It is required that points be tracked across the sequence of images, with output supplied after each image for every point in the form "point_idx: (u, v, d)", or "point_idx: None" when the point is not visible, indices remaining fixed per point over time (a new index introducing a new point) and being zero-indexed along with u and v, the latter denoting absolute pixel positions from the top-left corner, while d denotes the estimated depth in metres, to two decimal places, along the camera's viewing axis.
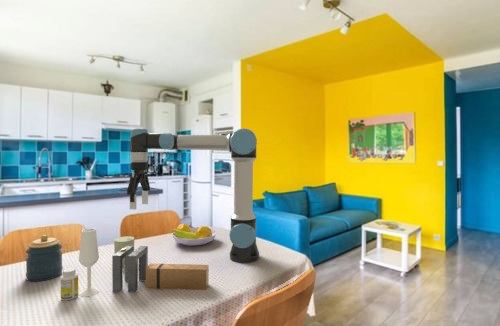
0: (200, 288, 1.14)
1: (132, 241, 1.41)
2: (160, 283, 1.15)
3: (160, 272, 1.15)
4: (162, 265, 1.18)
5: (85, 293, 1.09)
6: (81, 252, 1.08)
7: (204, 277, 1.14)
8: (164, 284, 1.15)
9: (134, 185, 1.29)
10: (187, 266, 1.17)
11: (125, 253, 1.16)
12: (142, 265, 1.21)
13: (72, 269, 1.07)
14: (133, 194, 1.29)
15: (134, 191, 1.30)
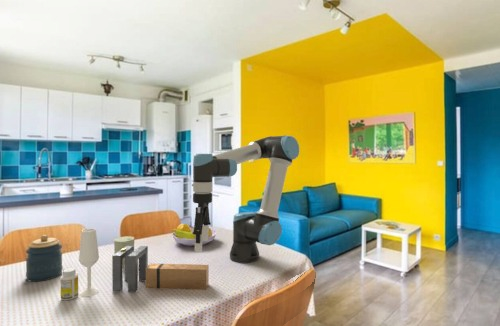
0: (200, 288, 1.14)
1: (132, 241, 1.41)
2: (160, 283, 1.15)
3: (160, 272, 1.15)
4: (162, 265, 1.18)
5: (85, 293, 1.09)
6: (81, 252, 1.08)
7: (204, 277, 1.14)
8: (164, 284, 1.15)
9: (201, 223, 1.08)
10: (187, 266, 1.17)
11: (125, 253, 1.16)
12: (142, 265, 1.21)
13: (72, 269, 1.07)
14: (200, 234, 1.08)
15: (200, 230, 1.08)
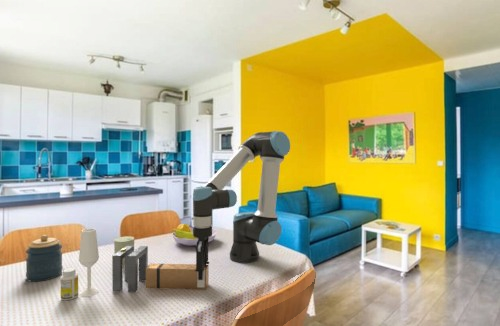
0: (200, 288, 1.14)
1: (132, 241, 1.41)
2: (160, 283, 1.15)
3: (160, 272, 1.15)
4: (162, 265, 1.18)
5: (85, 293, 1.09)
6: (81, 252, 1.08)
7: None
8: (164, 284, 1.15)
9: (202, 261, 1.11)
10: (187, 266, 1.17)
11: (125, 253, 1.16)
12: (142, 265, 1.21)
13: (72, 269, 1.07)
14: (202, 271, 1.12)
15: (203, 267, 1.12)
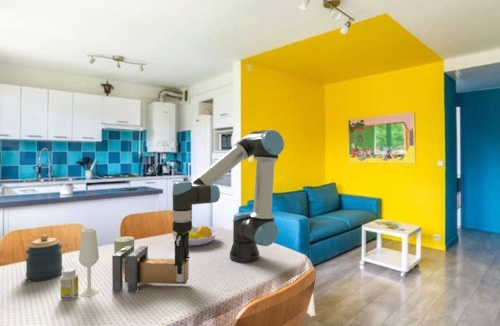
0: (179, 282, 1.14)
1: (132, 241, 1.41)
2: (139, 277, 1.15)
3: (139, 266, 1.15)
4: (142, 260, 1.18)
5: (85, 293, 1.09)
6: (81, 252, 1.08)
7: None
8: (143, 278, 1.15)
9: (181, 255, 1.11)
10: (167, 260, 1.17)
11: (125, 253, 1.16)
12: None
13: (72, 269, 1.07)
14: (181, 265, 1.13)
15: (182, 262, 1.12)
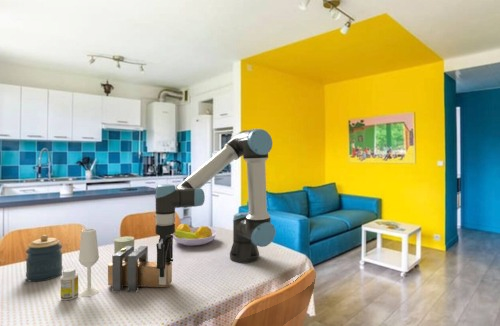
0: (162, 285, 1.15)
1: (132, 241, 1.41)
2: None
3: None
4: (125, 262, 1.18)
5: (85, 293, 1.09)
6: (81, 252, 1.08)
7: (166, 274, 1.15)
8: (126, 281, 1.15)
9: (163, 258, 1.11)
10: (150, 263, 1.17)
11: (125, 253, 1.16)
12: None
13: (72, 269, 1.07)
14: (163, 268, 1.13)
15: (164, 265, 1.13)
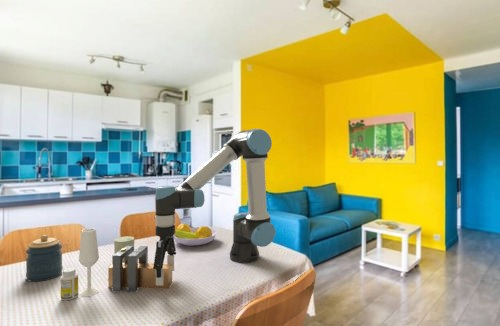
0: (162, 287, 1.15)
1: (132, 241, 1.41)
2: (123, 282, 1.15)
3: (123, 271, 1.15)
4: (126, 264, 1.18)
5: (85, 293, 1.09)
6: (81, 252, 1.08)
7: (166, 276, 1.15)
8: (126, 283, 1.15)
9: (161, 257, 1.09)
10: (150, 265, 1.18)
11: (125, 253, 1.16)
12: None
13: (72, 269, 1.07)
14: (160, 268, 1.09)
15: (161, 264, 1.09)
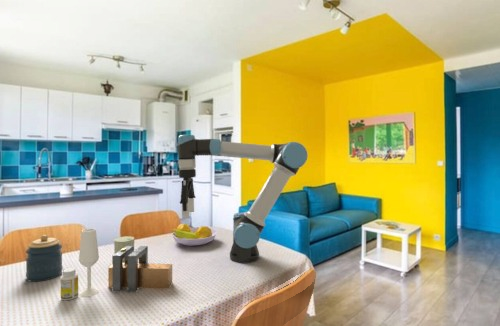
0: (162, 287, 1.15)
1: (132, 241, 1.41)
2: (123, 282, 1.15)
3: (123, 271, 1.15)
4: (126, 264, 1.18)
5: (85, 293, 1.09)
6: (81, 252, 1.08)
7: (166, 276, 1.15)
8: (126, 283, 1.15)
9: (187, 193, 1.26)
10: (150, 265, 1.18)
11: (125, 253, 1.16)
12: None
13: (72, 269, 1.07)
14: (186, 203, 1.26)
15: (187, 199, 1.26)
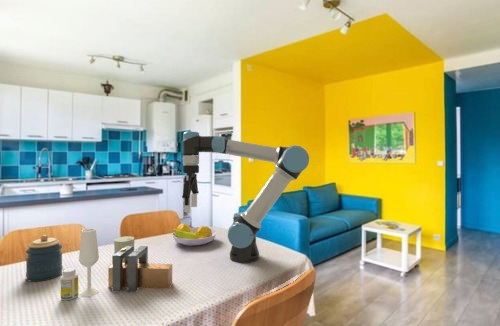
0: (162, 287, 1.15)
1: (132, 241, 1.41)
2: (123, 282, 1.15)
3: (123, 271, 1.15)
4: (126, 264, 1.18)
5: (85, 293, 1.09)
6: (81, 252, 1.08)
7: (166, 276, 1.15)
8: (127, 283, 1.15)
9: (189, 188, 1.30)
10: (150, 265, 1.18)
11: (125, 253, 1.16)
12: None
13: (72, 269, 1.07)
14: (188, 197, 1.30)
15: (189, 194, 1.30)
